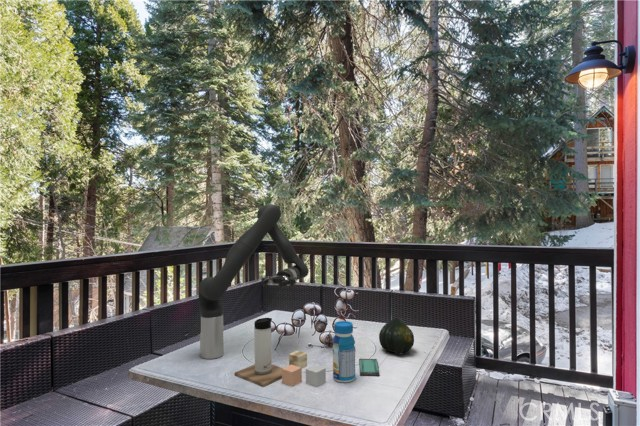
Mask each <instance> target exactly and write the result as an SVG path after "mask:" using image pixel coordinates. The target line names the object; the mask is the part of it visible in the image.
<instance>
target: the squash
mask: <svg viewBox="0 0 640 426" xmlns="http://www.w3.org/2000/svg"><path fill="white" fill-rule="evenodd" d="M378 333H379V334H378V340H379V344H380V346H381V348H382V349H383V350H384V351H386V352H392V353H393V352H394V354H395V355H397V356H400V355H401V354H404V355H405V354H408V353H409V352H410V350H411V349H412V348H413V346H414V344H415V336H414V332H413V331H412V329H411V328H410V327H409V326H408V325H407V324H406V323H405V322H404V321H403V319H401V318H400V317H399V316H397V317H394V318H392V319H391V320H389V321H387V322H386V323H385V324H384V325H383V326H382V328H381V329H380V331H379V332H378Z"/></svg>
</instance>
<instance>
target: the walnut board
mask: <svg viewBox="0 0 640 426" xmlns="http://www.w3.org/2000/svg"><path fill="white" fill-rule="evenodd" d="M271 367H272V371H271V372H270V373H268V374H265V375H259V374H256V373H255V363H254V364H252V365H249V366H247V367H245V368H242V369H239V370H237V371H235V372H234V376H235V377H238V378H240V379H243V380H246V381H248V382H250V383H253V384H255V385H257V386H260V387H263V388H264V387H267V386H269V385H270V384H273V383H275V382H277V381H279V380H282V369H283V368H284V367H281V366H278V365H276V364H275V365H274V364H272V366H271Z"/></svg>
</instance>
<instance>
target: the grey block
mask: <svg viewBox="0 0 640 426" xmlns="http://www.w3.org/2000/svg"><path fill="white" fill-rule="evenodd" d="M326 375H327V374H326V367H324V366H319V365H316V364H313V365H312V366H309V367H307V368H305V383H306V384H308V385H310V386H314V387H315V388H317V387H319V386H320V385H322V384H324V383H326V382H327V381H326V379H327V377H326Z"/></svg>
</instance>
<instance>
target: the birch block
mask: <svg viewBox="0 0 640 426" xmlns="http://www.w3.org/2000/svg"><path fill="white" fill-rule="evenodd" d="M288 363H289V364H288V366H289V365H291V364H292V365H295V366H298V367H301V368H302V369H303V368H305V367H308V353H307V352H305V351H301V350H295V351H293V352H291V353H289V354H288Z"/></svg>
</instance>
